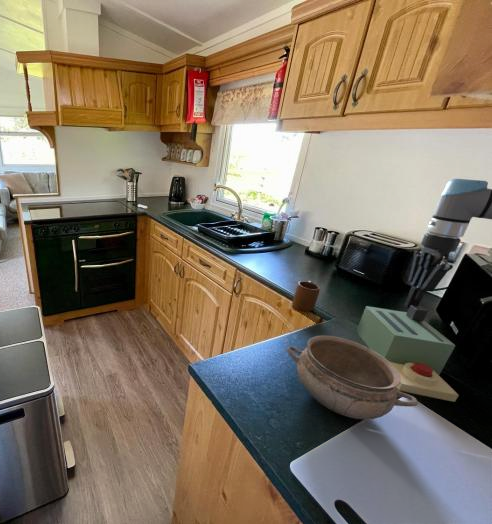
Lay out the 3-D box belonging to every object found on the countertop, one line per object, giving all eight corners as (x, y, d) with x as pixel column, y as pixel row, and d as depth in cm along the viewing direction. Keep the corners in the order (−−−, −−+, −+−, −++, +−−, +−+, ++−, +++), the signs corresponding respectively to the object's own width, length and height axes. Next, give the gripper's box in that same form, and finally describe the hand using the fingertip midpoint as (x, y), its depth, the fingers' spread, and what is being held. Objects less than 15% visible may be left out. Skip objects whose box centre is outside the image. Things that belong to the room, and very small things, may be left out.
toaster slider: (417, 316, 89) (421, 306, 88) (423, 321, 87) (428, 311, 85) (405, 314, 90) (410, 304, 89) (411, 319, 87) (416, 309, 86)
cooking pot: (267, 395, 69) (280, 353, 64) (288, 357, 83) (299, 320, 78) (403, 466, 54) (430, 418, 50) (400, 405, 68) (421, 364, 64)
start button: (424, 369, 76) (427, 364, 75) (433, 378, 73) (436, 373, 72) (408, 366, 77) (411, 361, 76) (417, 375, 73) (419, 370, 73)
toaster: (403, 339, 95) (415, 313, 92) (439, 375, 80) (455, 345, 76) (355, 331, 98) (366, 305, 94) (381, 364, 83) (395, 334, 79)
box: (430, 376, 79) (436, 364, 78) (454, 402, 71) (462, 389, 69) (380, 367, 81) (385, 355, 80) (398, 390, 73) (405, 378, 72)
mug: (295, 296, 120) (300, 276, 117) (315, 302, 117) (322, 281, 113) (290, 307, 111) (296, 285, 108) (312, 314, 107) (319, 291, 104)
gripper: (413, 228, 89) (385, 296, 98) (443, 239, 77) (408, 315, 86) (442, 231, 88) (411, 299, 96) (477, 242, 76) (438, 320, 84)
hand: (410, 307), depth 91 cm, fingers closed
